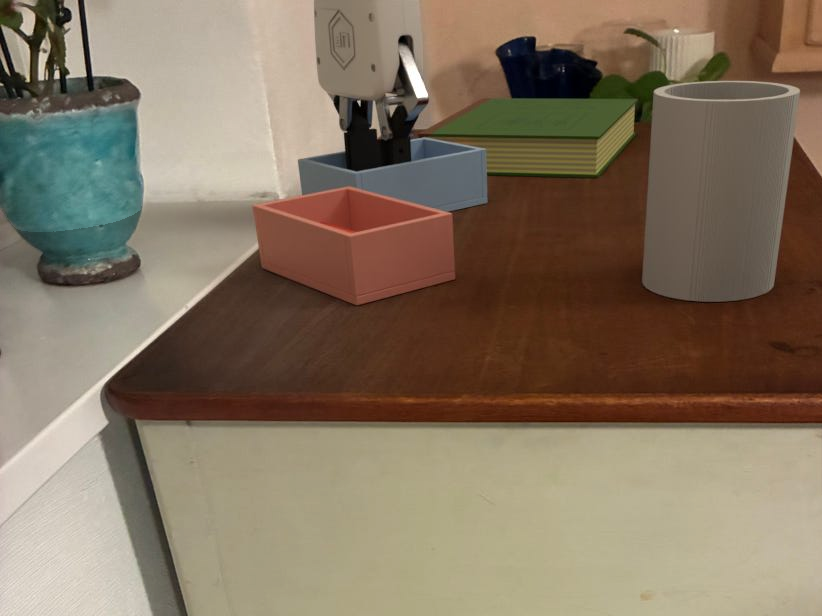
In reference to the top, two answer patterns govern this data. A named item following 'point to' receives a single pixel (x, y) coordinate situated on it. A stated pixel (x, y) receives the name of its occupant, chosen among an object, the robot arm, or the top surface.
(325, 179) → the blue bin
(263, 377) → the top surface
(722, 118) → the cup
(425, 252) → the red bin
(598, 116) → the hardcover book
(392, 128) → the robot arm
